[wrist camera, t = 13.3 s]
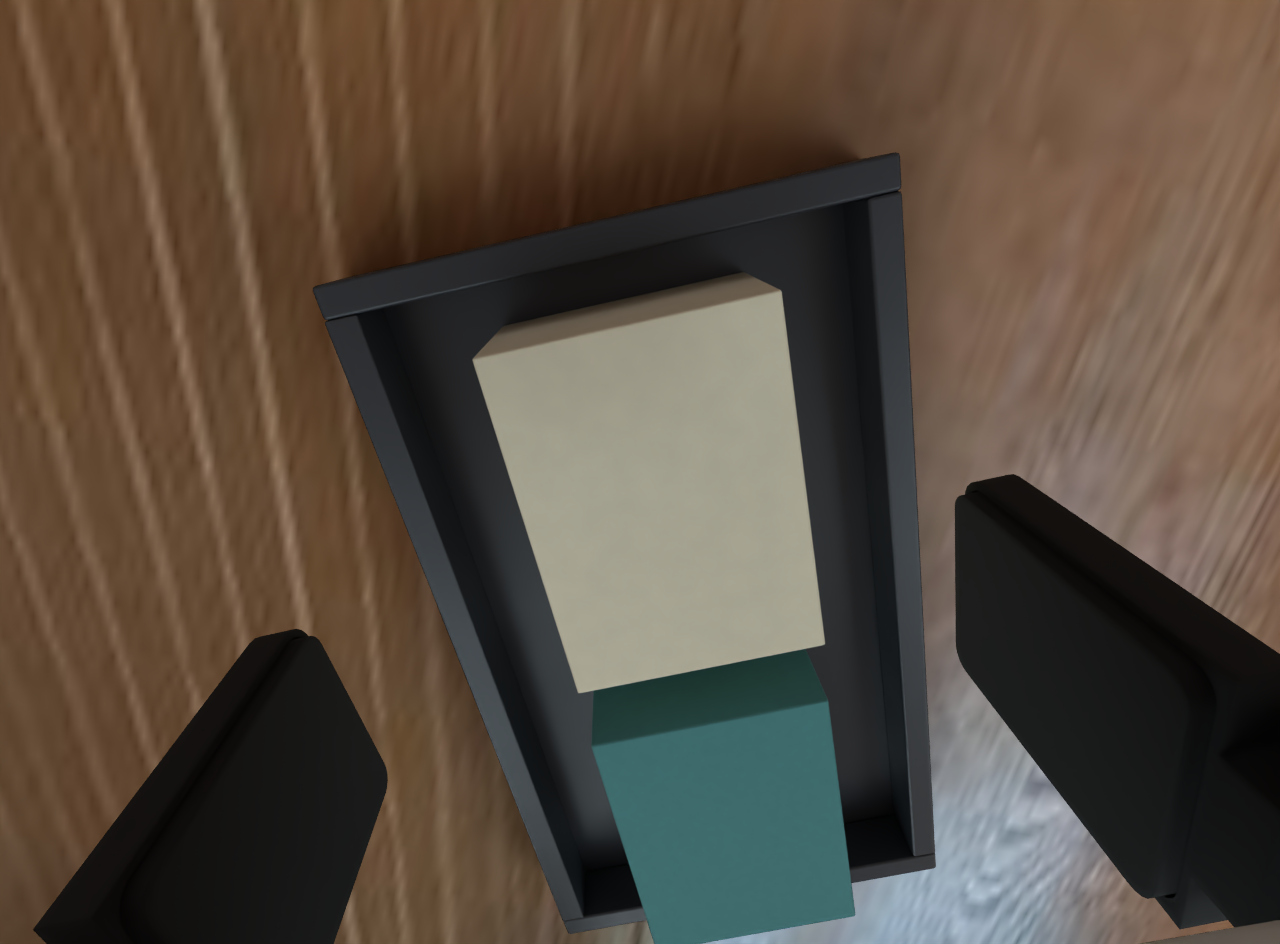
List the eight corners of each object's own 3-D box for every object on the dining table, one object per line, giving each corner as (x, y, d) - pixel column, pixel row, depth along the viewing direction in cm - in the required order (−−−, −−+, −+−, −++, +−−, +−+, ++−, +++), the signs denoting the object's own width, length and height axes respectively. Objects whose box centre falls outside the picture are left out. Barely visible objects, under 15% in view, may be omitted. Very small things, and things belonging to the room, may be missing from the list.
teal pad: (594, 652, 21) (590, 746, 17) (790, 613, 21) (828, 700, 17) (649, 840, 24) (656, 952, 21) (819, 808, 24) (856, 916, 20)
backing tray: (347, 277, 17) (309, 287, 15) (863, 158, 16) (901, 151, 14) (571, 875, 26) (567, 935, 24) (909, 813, 25) (936, 869, 23)
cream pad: (502, 326, 17) (471, 358, 13) (744, 271, 17) (782, 289, 13) (584, 606, 20) (577, 694, 17) (786, 565, 20) (826, 645, 16)
